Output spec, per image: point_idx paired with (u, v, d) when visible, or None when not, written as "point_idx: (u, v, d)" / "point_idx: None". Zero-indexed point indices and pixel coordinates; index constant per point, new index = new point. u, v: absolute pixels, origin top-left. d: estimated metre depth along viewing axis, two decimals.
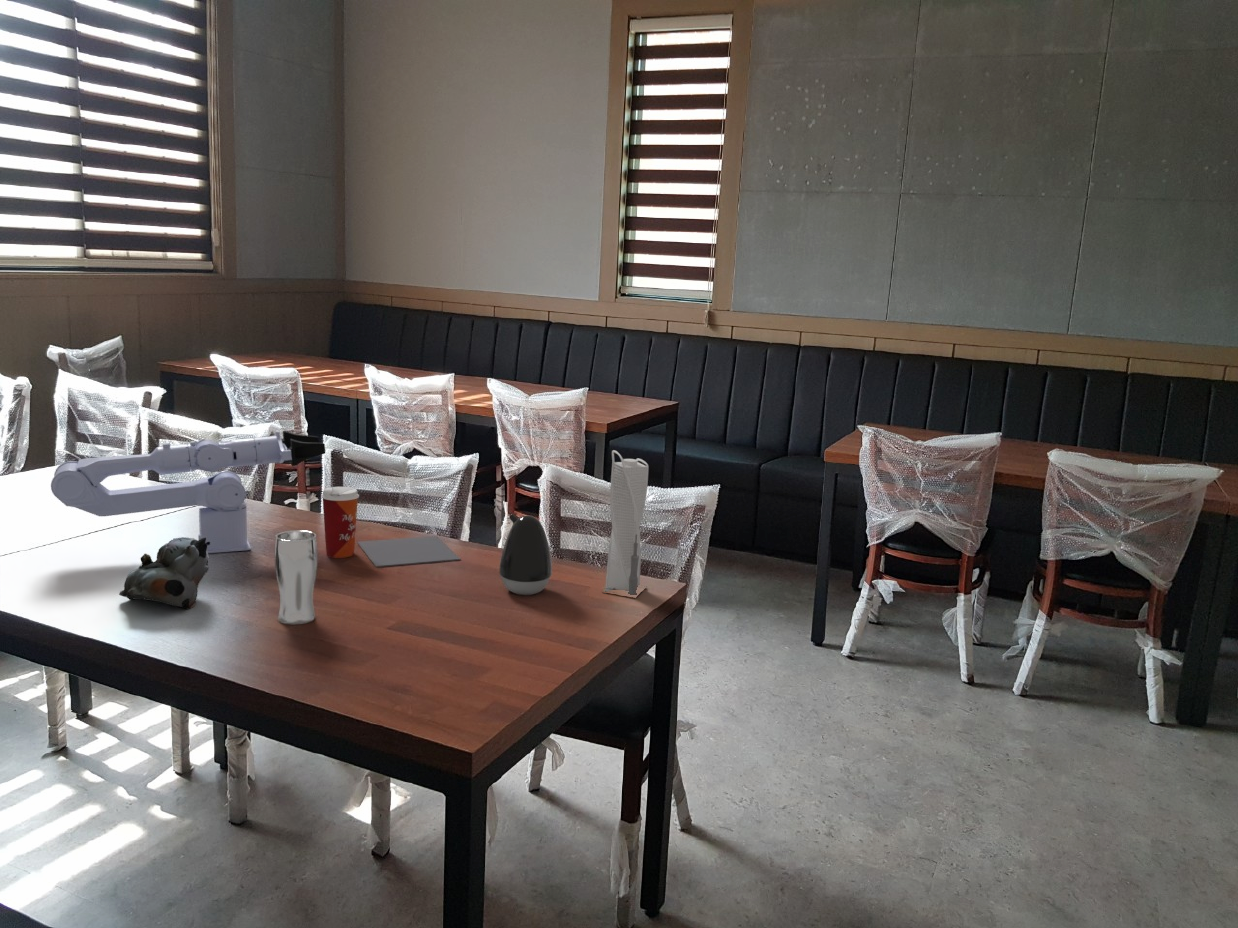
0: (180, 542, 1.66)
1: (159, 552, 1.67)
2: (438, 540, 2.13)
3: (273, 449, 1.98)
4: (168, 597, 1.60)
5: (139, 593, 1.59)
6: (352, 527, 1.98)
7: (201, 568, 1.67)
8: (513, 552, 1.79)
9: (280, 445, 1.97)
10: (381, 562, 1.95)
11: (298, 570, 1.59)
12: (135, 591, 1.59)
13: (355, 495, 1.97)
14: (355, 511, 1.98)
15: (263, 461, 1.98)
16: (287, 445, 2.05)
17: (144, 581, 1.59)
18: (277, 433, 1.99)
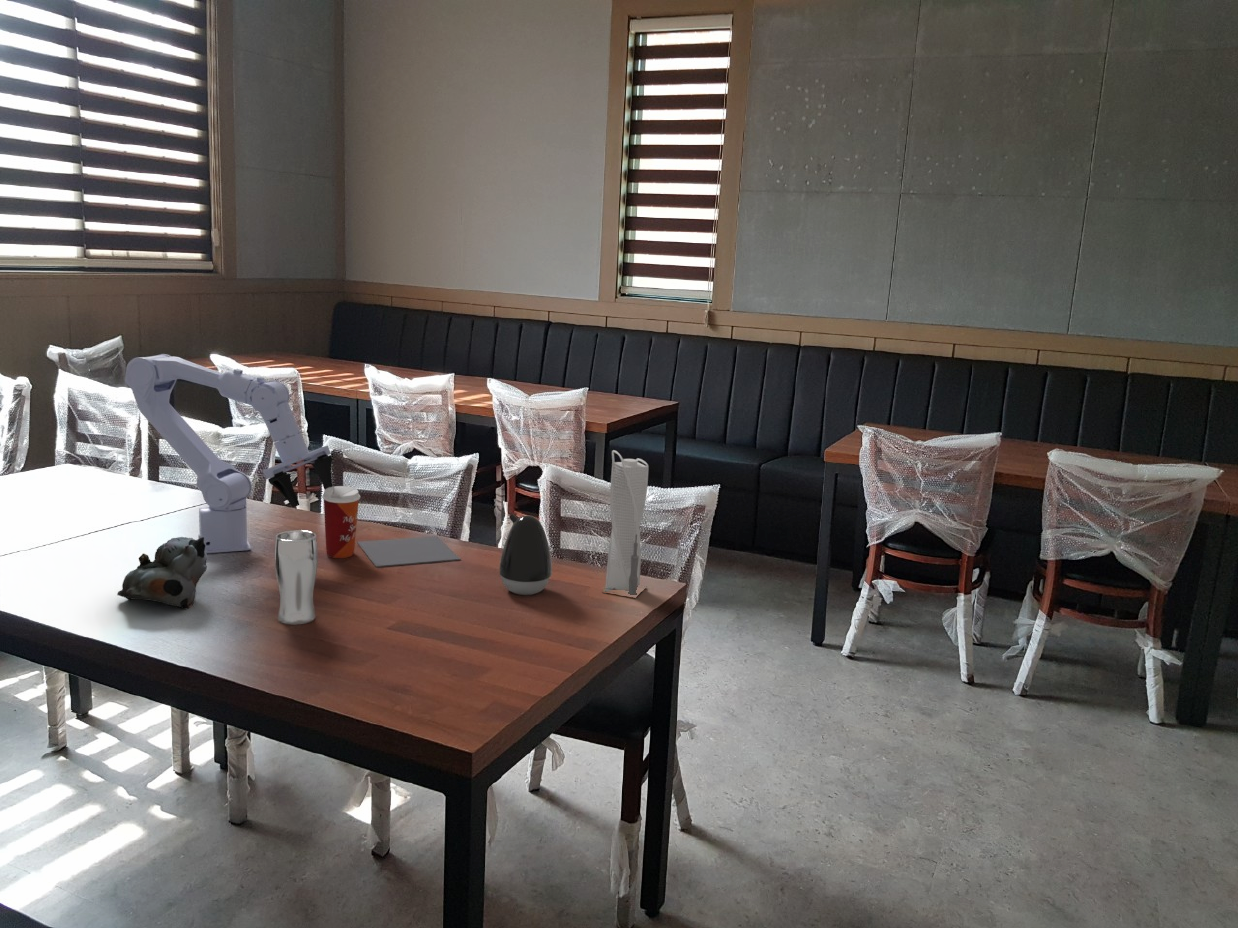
0: (178, 542, 1.66)
1: (157, 552, 1.67)
2: (438, 540, 2.13)
3: (283, 457, 1.93)
4: (167, 597, 1.60)
5: (138, 593, 1.59)
6: (352, 528, 1.97)
7: (199, 568, 1.67)
8: (513, 552, 1.79)
9: (281, 465, 1.91)
10: (381, 562, 1.95)
11: (298, 570, 1.59)
12: (134, 591, 1.59)
13: (356, 497, 1.96)
14: (356, 512, 1.97)
15: None
16: (316, 462, 1.98)
17: (143, 581, 1.59)
18: (299, 457, 1.92)
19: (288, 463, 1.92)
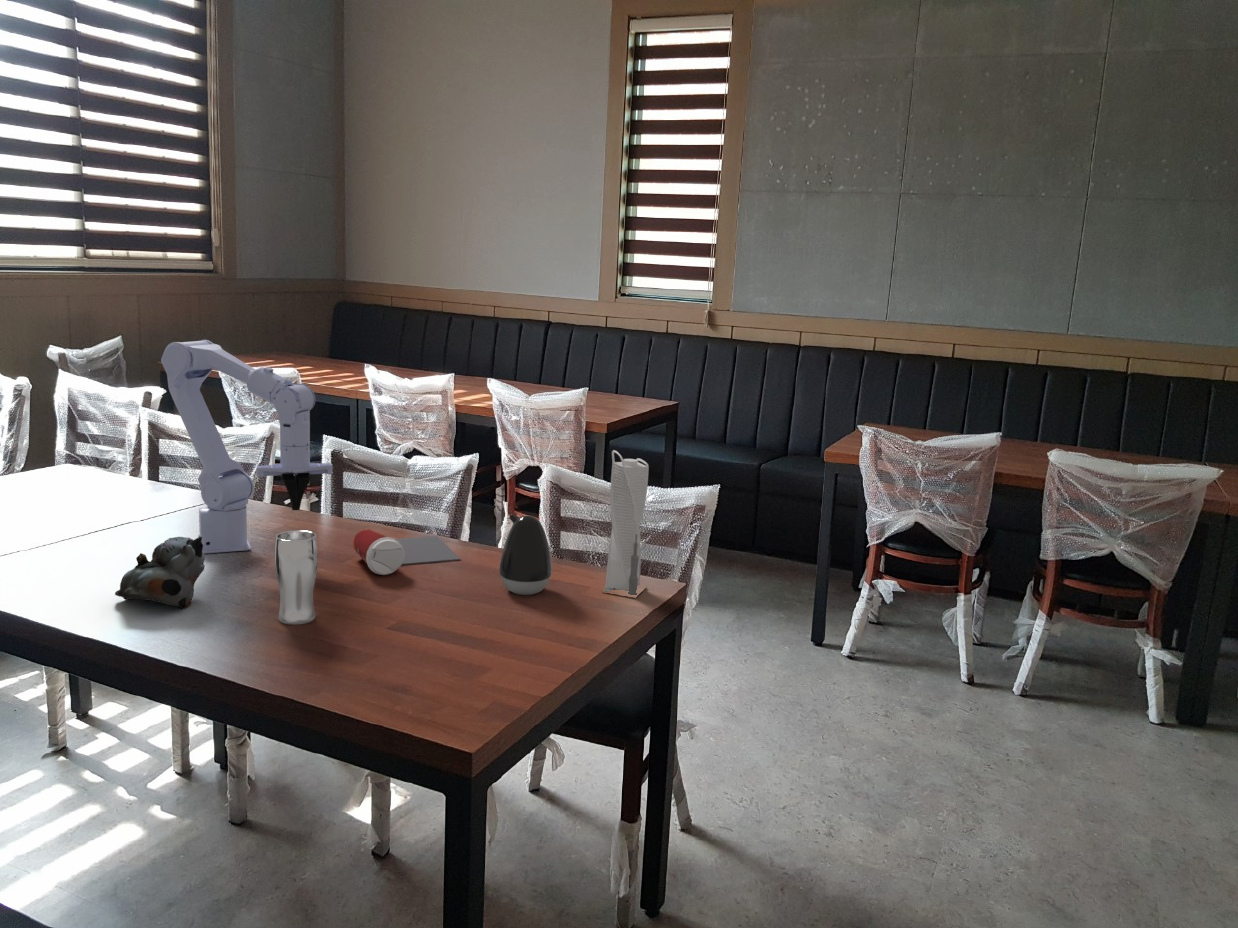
0: (176, 542, 1.66)
1: (155, 552, 1.67)
2: (438, 540, 2.13)
3: (281, 461, 1.90)
4: (165, 596, 1.60)
5: (136, 593, 1.59)
6: None
7: (197, 567, 1.67)
8: (513, 552, 1.79)
9: (273, 469, 1.89)
10: None
11: (298, 570, 1.59)
12: (132, 591, 1.59)
13: (377, 572, 1.87)
14: None
15: None
16: (296, 477, 1.93)
17: (141, 581, 1.59)
18: (292, 470, 1.89)
19: (281, 470, 1.89)
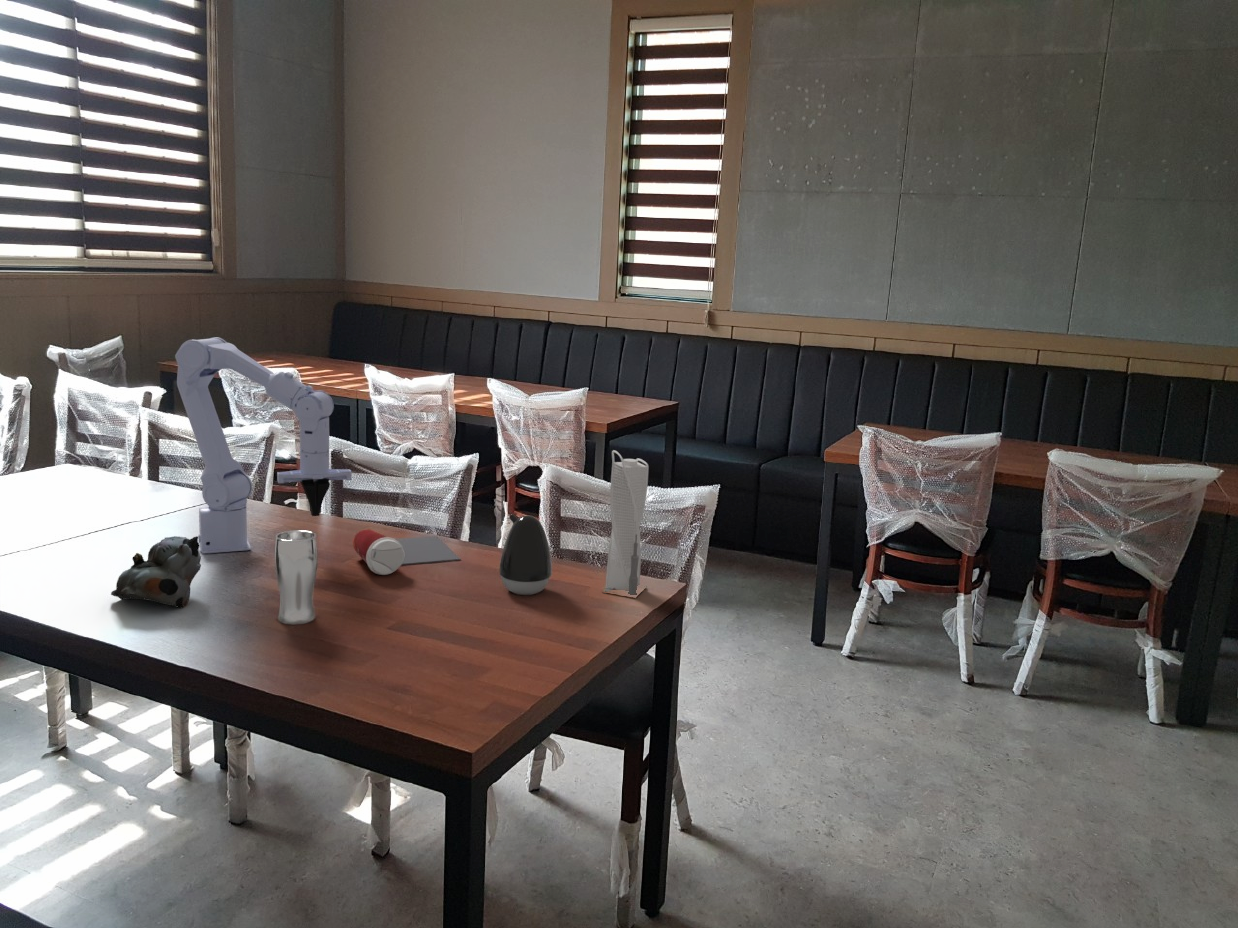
0: (172, 541, 1.66)
1: (151, 551, 1.67)
2: (438, 540, 2.13)
3: (301, 468, 1.92)
4: (162, 596, 1.60)
5: (133, 592, 1.59)
6: None
7: (193, 567, 1.67)
8: (513, 552, 1.79)
9: (294, 475, 1.91)
10: None
11: (298, 570, 1.59)
12: (129, 590, 1.59)
13: (377, 572, 1.87)
14: None
15: None
16: (315, 483, 1.95)
17: (138, 581, 1.60)
18: (312, 476, 1.91)
19: (301, 476, 1.91)
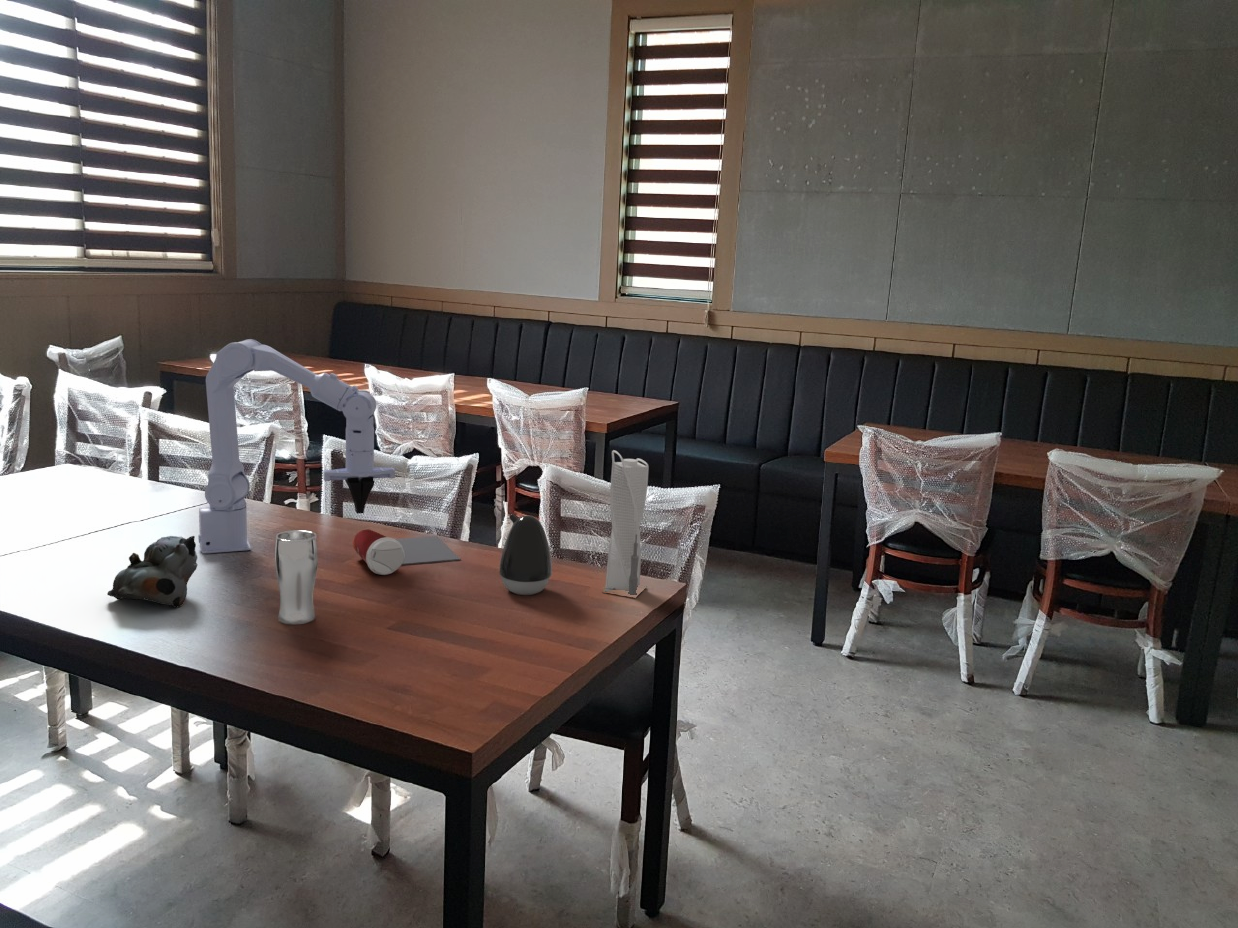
0: (169, 541, 1.66)
1: (147, 551, 1.67)
2: (438, 540, 2.13)
3: (346, 466, 1.97)
4: (160, 596, 1.60)
5: (130, 592, 1.59)
6: None
7: (190, 566, 1.68)
8: (513, 552, 1.79)
9: (340, 473, 1.95)
10: None
11: (298, 570, 1.59)
12: (126, 590, 1.59)
13: (377, 572, 1.87)
14: None
15: None
16: (360, 481, 1.99)
17: (135, 580, 1.60)
18: (358, 474, 1.95)
19: (347, 474, 1.95)
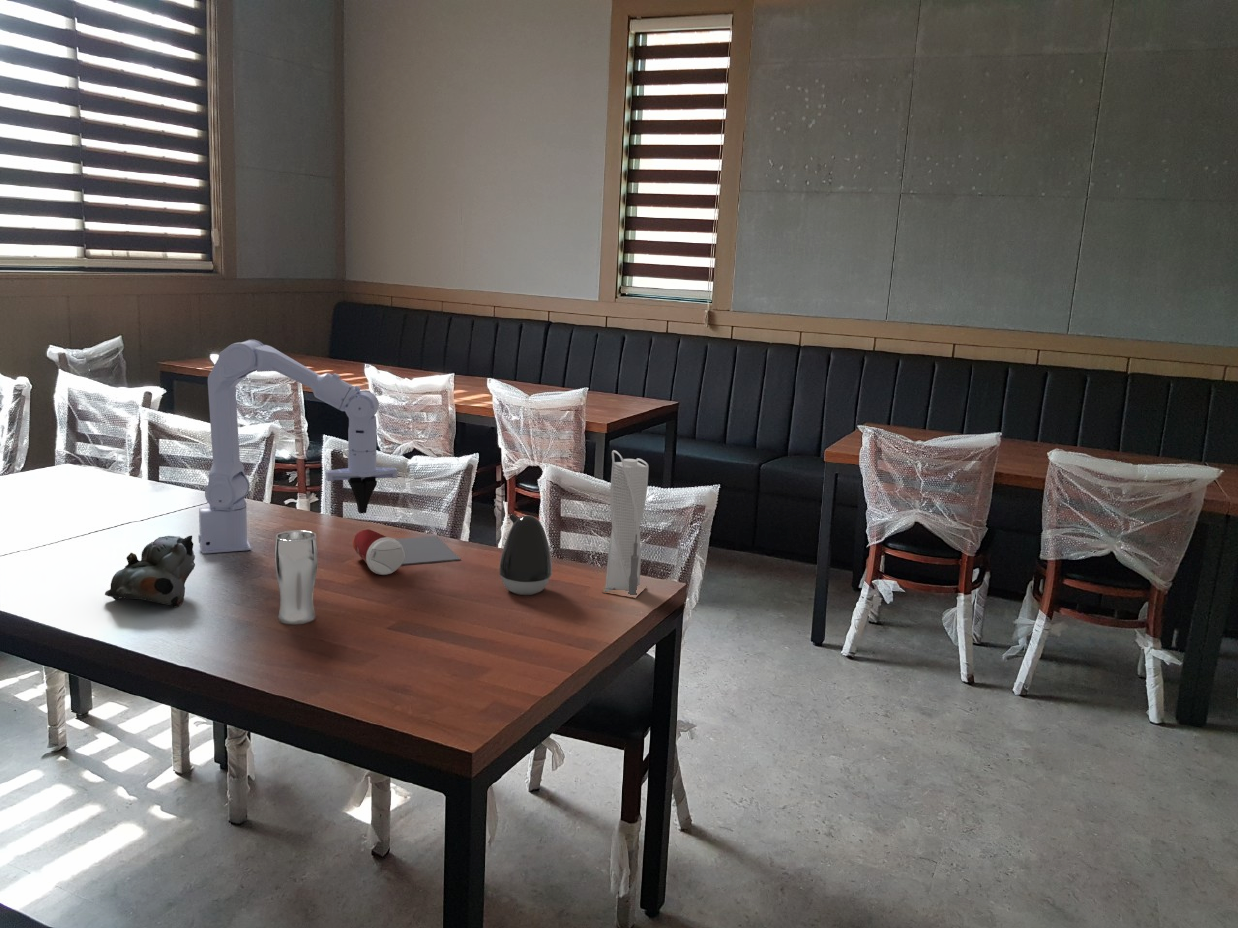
0: (166, 540, 1.66)
1: (144, 551, 1.67)
2: (438, 540, 2.13)
3: (349, 466, 1.97)
4: (158, 595, 1.61)
5: (128, 592, 1.59)
6: None
7: (188, 566, 1.68)
8: (513, 552, 1.79)
9: (342, 473, 1.95)
10: None
11: (298, 570, 1.59)
12: (124, 590, 1.59)
13: (377, 572, 1.87)
14: None
15: None
16: (363, 481, 2.00)
17: (133, 580, 1.60)
18: (361, 474, 1.95)
19: (349, 474, 1.96)
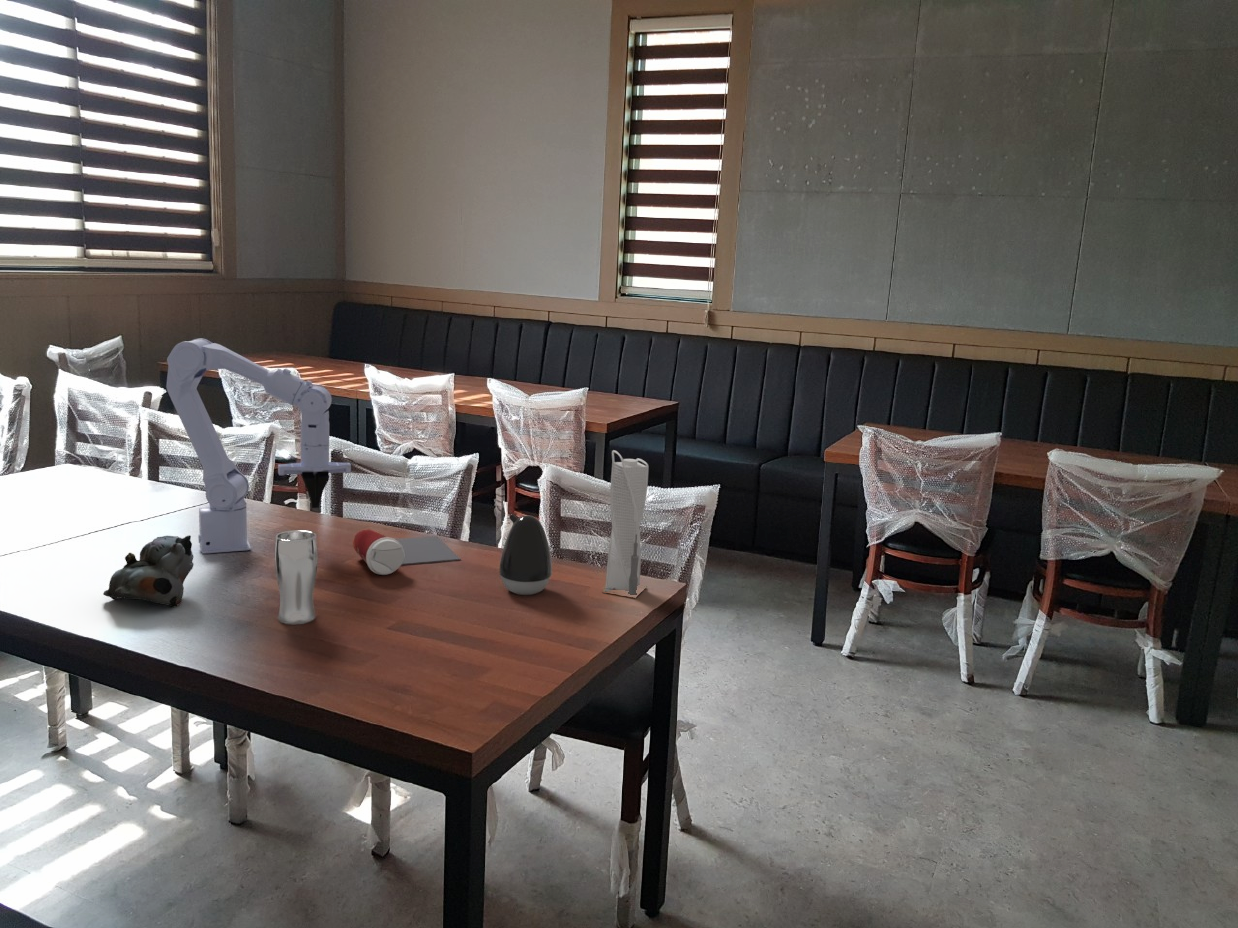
0: (165, 540, 1.66)
1: (143, 551, 1.67)
2: (438, 540, 2.13)
3: (301, 460, 1.97)
4: (157, 595, 1.61)
5: (127, 592, 1.59)
6: None
7: (186, 566, 1.68)
8: (513, 552, 1.79)
9: (294, 467, 1.95)
10: None
11: (298, 570, 1.59)
12: (123, 590, 1.59)
13: (377, 572, 1.87)
14: None
15: None
16: (315, 476, 1.99)
17: (132, 580, 1.60)
18: (312, 469, 1.95)
19: (301, 469, 1.96)
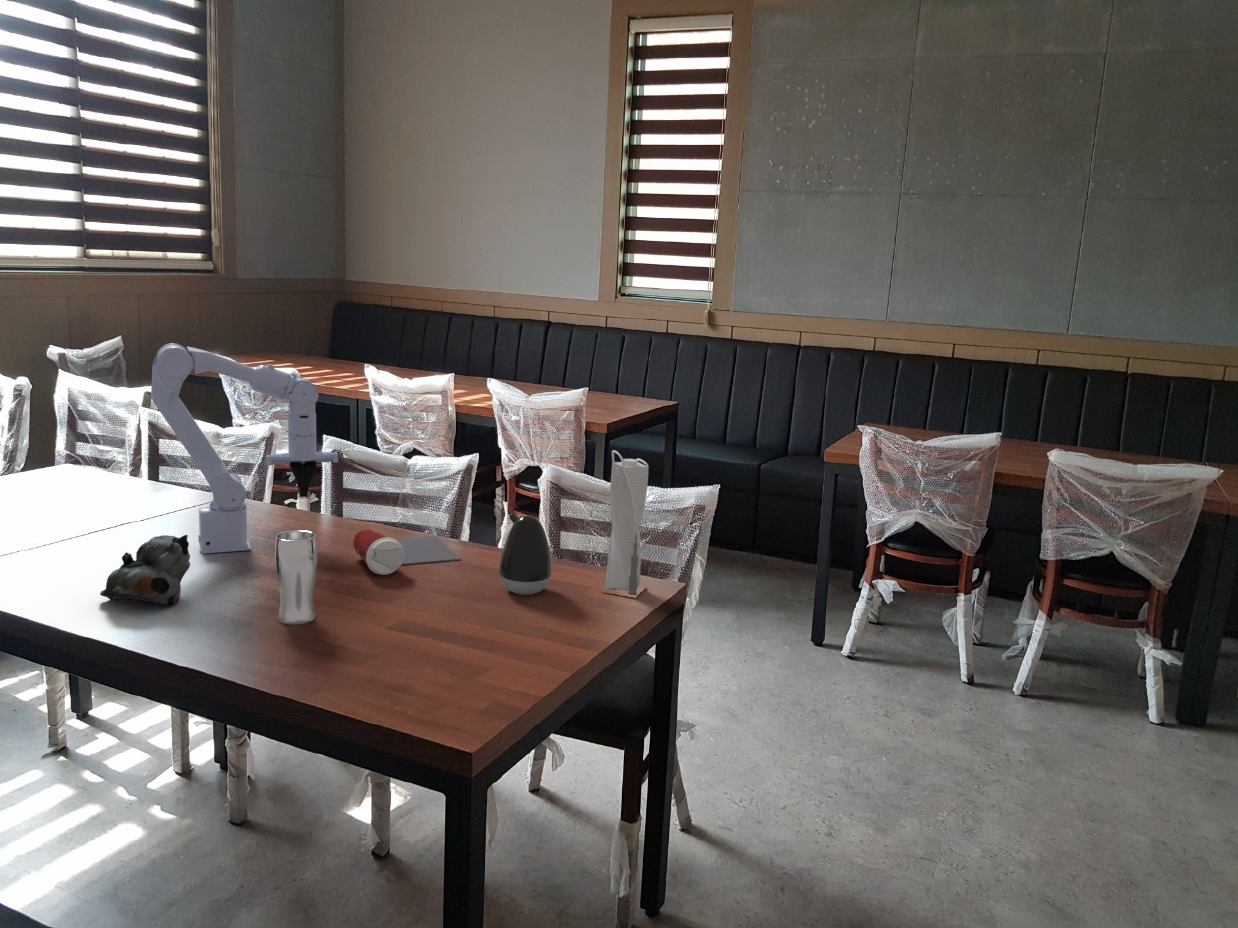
0: (162, 540, 1.66)
1: (139, 551, 1.67)
2: (438, 540, 2.13)
3: (289, 451, 2.01)
4: (155, 595, 1.61)
5: (125, 592, 1.59)
6: None
7: (183, 565, 1.68)
8: (513, 552, 1.79)
9: (282, 457, 2.00)
10: None
11: (298, 570, 1.59)
12: (120, 590, 1.59)
13: (377, 572, 1.87)
14: None
15: None
16: (303, 465, 2.04)
17: (129, 580, 1.60)
18: (300, 458, 2.00)
19: (289, 459, 2.00)
